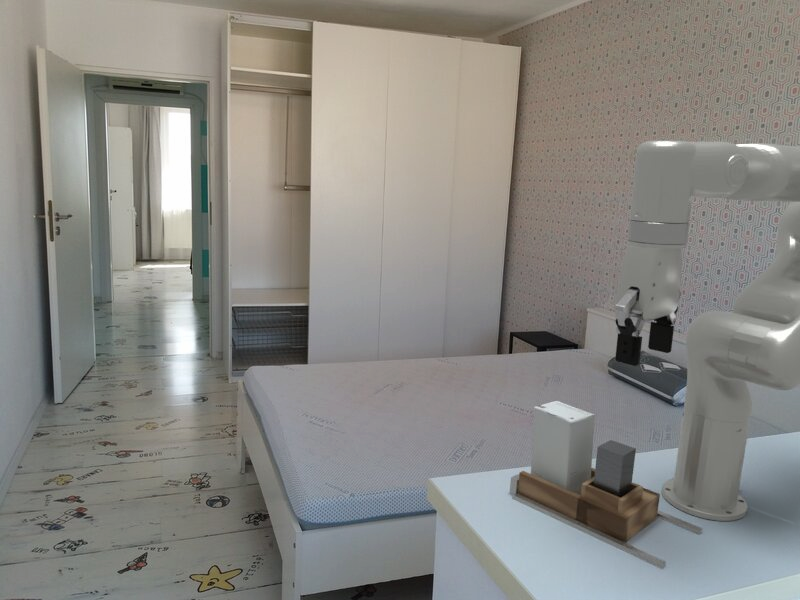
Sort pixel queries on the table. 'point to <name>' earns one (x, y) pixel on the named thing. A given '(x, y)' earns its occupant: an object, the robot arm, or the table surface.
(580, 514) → the cradle
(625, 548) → the rail
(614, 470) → the gray rectangular block
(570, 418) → the skincare box
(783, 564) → the table surface
